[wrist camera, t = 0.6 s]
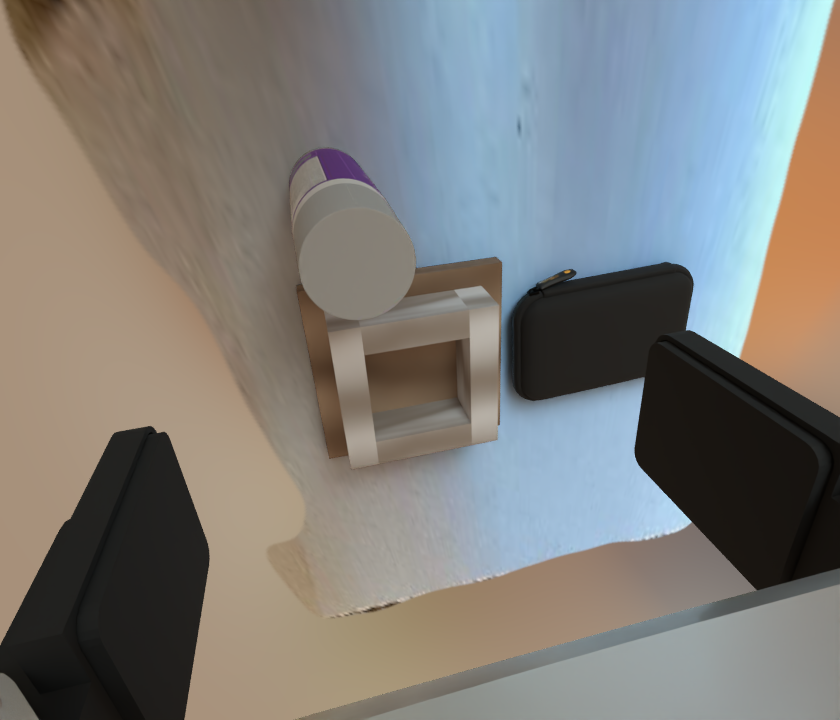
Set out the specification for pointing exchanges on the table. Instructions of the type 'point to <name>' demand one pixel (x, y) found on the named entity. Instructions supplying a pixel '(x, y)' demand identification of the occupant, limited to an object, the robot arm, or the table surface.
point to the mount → (411, 367)
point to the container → (347, 238)
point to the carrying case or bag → (595, 328)
